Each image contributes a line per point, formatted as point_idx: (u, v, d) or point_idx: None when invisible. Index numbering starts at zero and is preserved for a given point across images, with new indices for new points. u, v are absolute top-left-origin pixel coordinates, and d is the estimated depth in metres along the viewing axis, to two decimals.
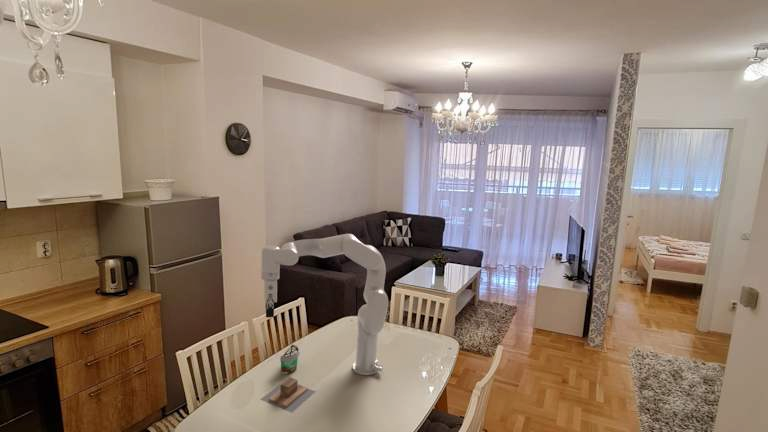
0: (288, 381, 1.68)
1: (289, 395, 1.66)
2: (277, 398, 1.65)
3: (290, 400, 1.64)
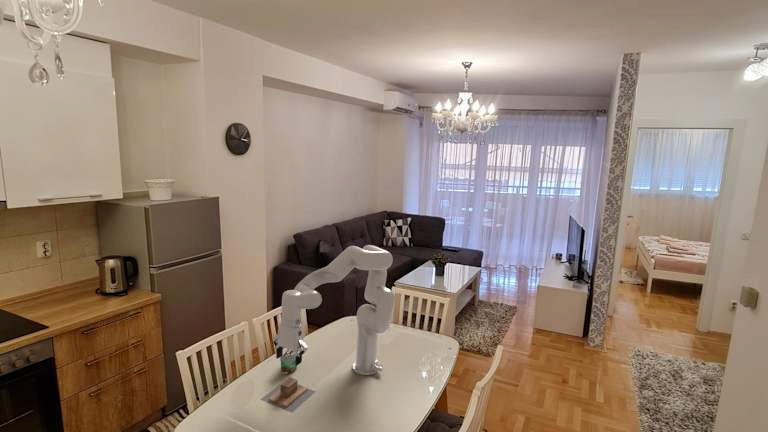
0: (288, 381, 1.68)
1: (289, 395, 1.66)
2: (277, 398, 1.65)
3: (290, 400, 1.64)
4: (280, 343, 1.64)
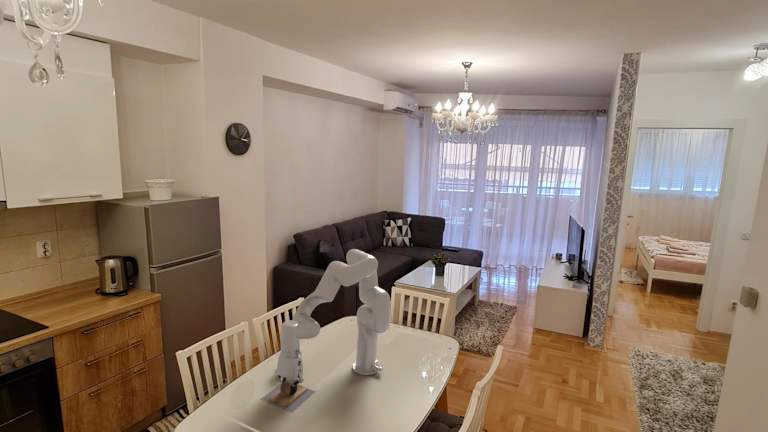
0: (288, 381, 1.68)
1: (289, 395, 1.66)
2: (277, 398, 1.65)
3: (290, 400, 1.64)
4: (280, 373, 1.66)
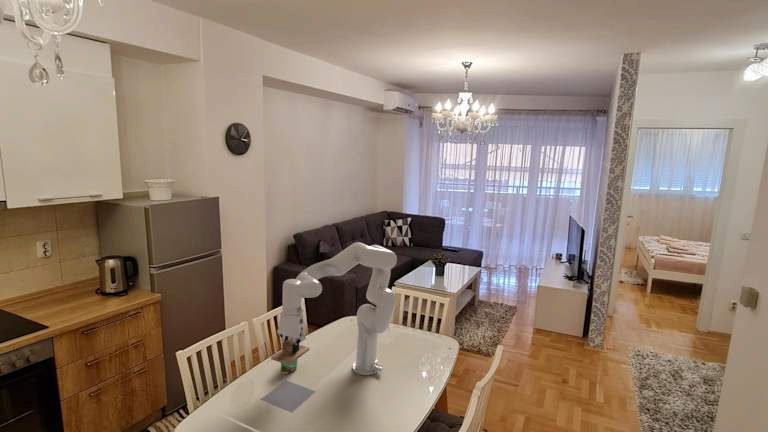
0: (289, 340, 1.68)
1: (291, 354, 1.66)
2: (279, 356, 1.65)
3: (292, 358, 1.64)
4: (282, 331, 1.67)
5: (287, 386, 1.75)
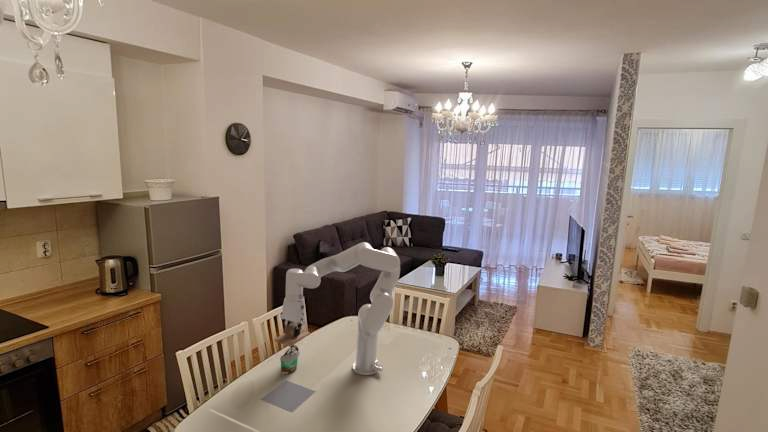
0: (291, 325, 1.84)
1: (293, 336, 1.82)
2: (282, 339, 1.81)
3: (294, 340, 1.80)
4: (285, 316, 1.83)
5: (287, 386, 1.75)
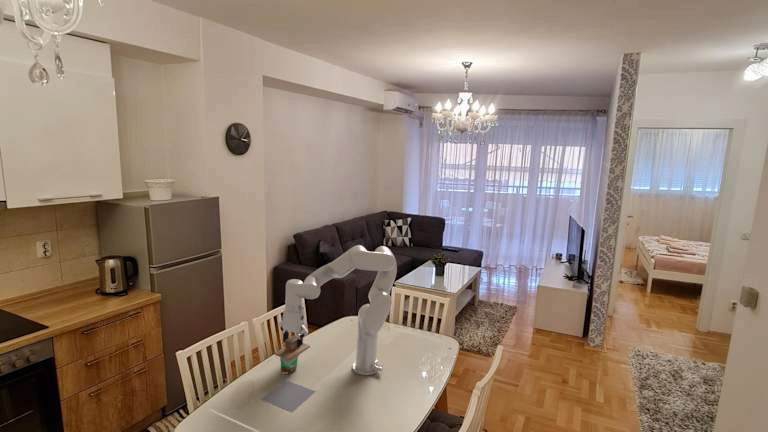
0: (292, 338, 1.85)
1: (293, 350, 1.83)
2: (282, 352, 1.82)
3: (294, 354, 1.81)
4: (285, 327, 1.83)
5: (287, 386, 1.75)
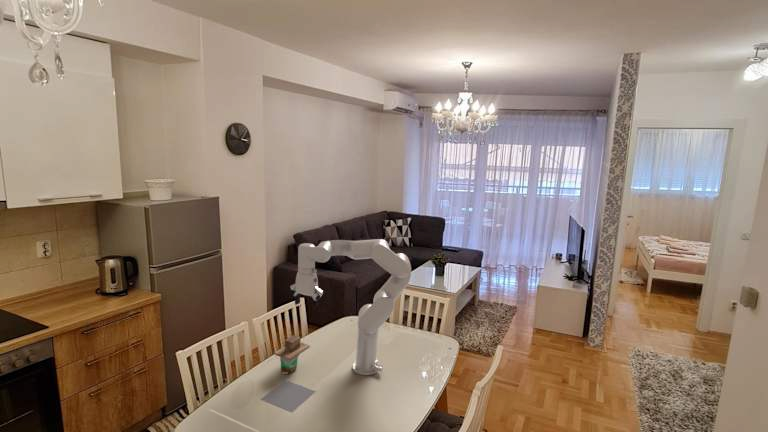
0: (291, 338, 1.85)
1: (293, 350, 1.83)
2: (282, 352, 1.82)
3: (293, 354, 1.81)
4: (298, 290, 1.87)
5: (287, 386, 1.75)
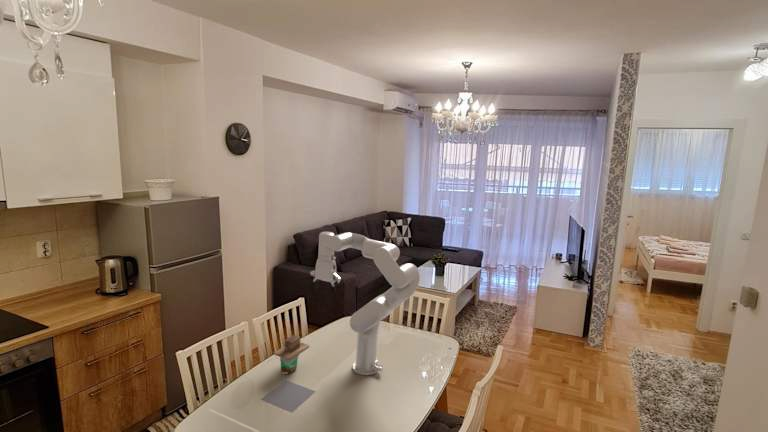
0: (291, 338, 1.85)
1: (292, 350, 1.83)
2: (281, 352, 1.82)
3: (293, 354, 1.81)
4: (317, 276, 1.97)
5: (287, 386, 1.75)
